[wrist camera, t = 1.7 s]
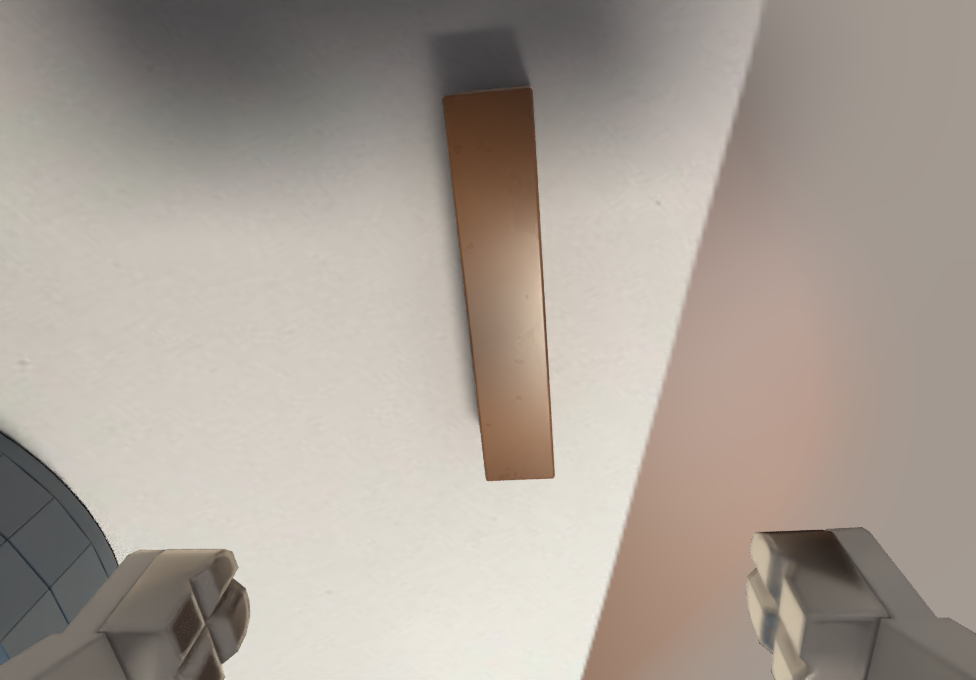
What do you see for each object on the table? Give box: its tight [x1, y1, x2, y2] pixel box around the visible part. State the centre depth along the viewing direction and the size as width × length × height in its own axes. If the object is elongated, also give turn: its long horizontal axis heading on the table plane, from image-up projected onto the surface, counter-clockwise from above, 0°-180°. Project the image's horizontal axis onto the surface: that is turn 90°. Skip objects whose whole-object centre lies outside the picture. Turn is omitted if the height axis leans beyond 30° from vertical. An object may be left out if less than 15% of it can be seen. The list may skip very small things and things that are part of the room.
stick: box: [442, 86, 555, 481], centre depth 20 cm, size 13×2×3 cm, turn 5°
